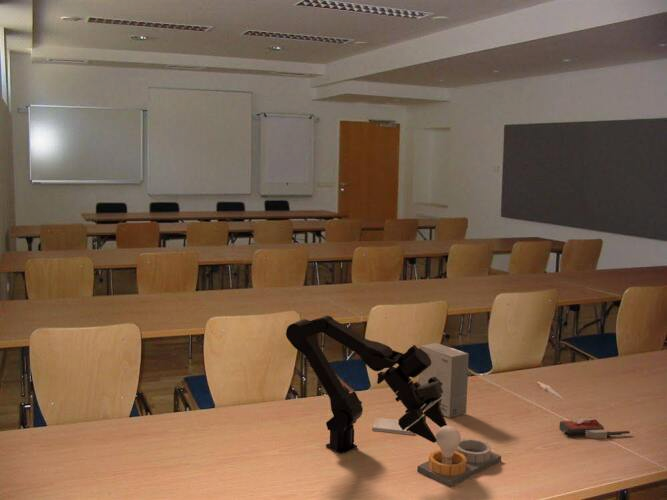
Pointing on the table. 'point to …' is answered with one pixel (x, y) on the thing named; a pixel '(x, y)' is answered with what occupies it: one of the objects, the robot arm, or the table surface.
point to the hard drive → (389, 426)
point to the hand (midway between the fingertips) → (441, 435)
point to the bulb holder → (460, 462)
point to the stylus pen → (549, 389)
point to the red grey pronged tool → (586, 428)
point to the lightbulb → (448, 442)
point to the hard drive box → (448, 377)
